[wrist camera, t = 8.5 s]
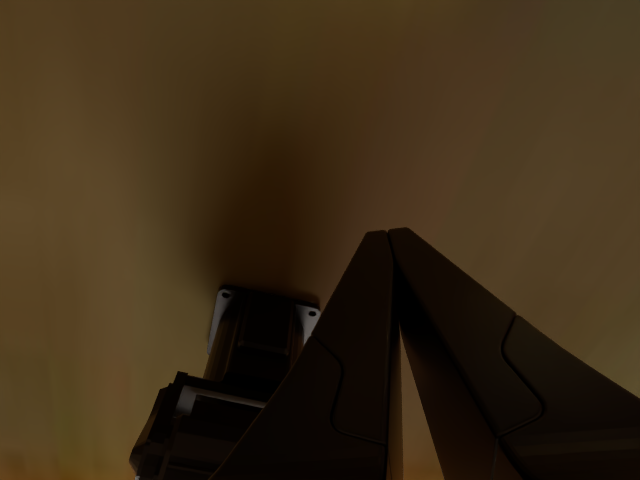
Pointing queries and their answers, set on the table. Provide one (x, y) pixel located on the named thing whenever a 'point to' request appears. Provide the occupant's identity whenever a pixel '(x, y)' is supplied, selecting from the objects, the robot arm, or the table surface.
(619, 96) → the table surface
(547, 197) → the table surface
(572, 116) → the table surface
